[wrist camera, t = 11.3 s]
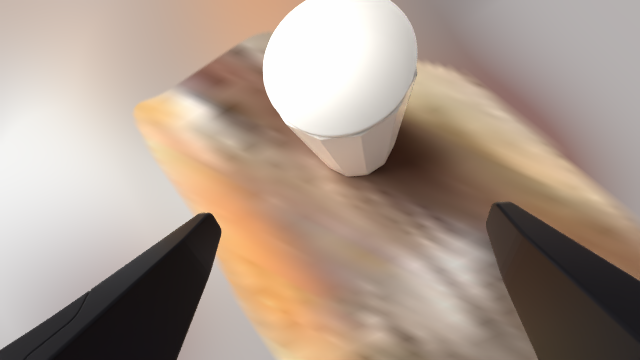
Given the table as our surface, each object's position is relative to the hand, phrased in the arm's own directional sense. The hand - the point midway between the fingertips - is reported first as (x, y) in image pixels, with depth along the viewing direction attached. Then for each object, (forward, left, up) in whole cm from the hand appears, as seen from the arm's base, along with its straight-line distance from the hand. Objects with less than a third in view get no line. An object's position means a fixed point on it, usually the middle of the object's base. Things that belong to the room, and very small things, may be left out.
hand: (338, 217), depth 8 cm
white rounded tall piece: (+6, -3, -14) cm, 15 cm away
